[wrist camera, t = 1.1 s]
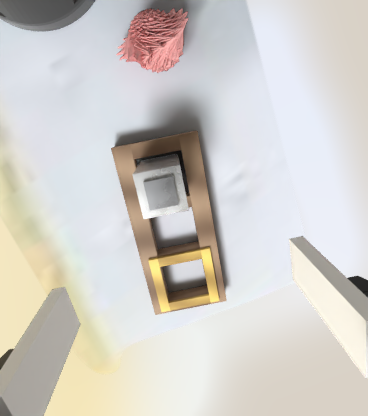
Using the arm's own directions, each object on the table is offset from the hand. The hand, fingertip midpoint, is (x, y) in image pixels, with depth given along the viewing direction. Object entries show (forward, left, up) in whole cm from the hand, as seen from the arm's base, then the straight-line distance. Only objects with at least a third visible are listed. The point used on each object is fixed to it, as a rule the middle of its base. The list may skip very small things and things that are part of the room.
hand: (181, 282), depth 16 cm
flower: (-16, +1, -21) cm, 27 cm away
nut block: (-2, -1, -21) cm, 21 cm away
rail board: (+5, -1, -21) cm, 21 cm away
